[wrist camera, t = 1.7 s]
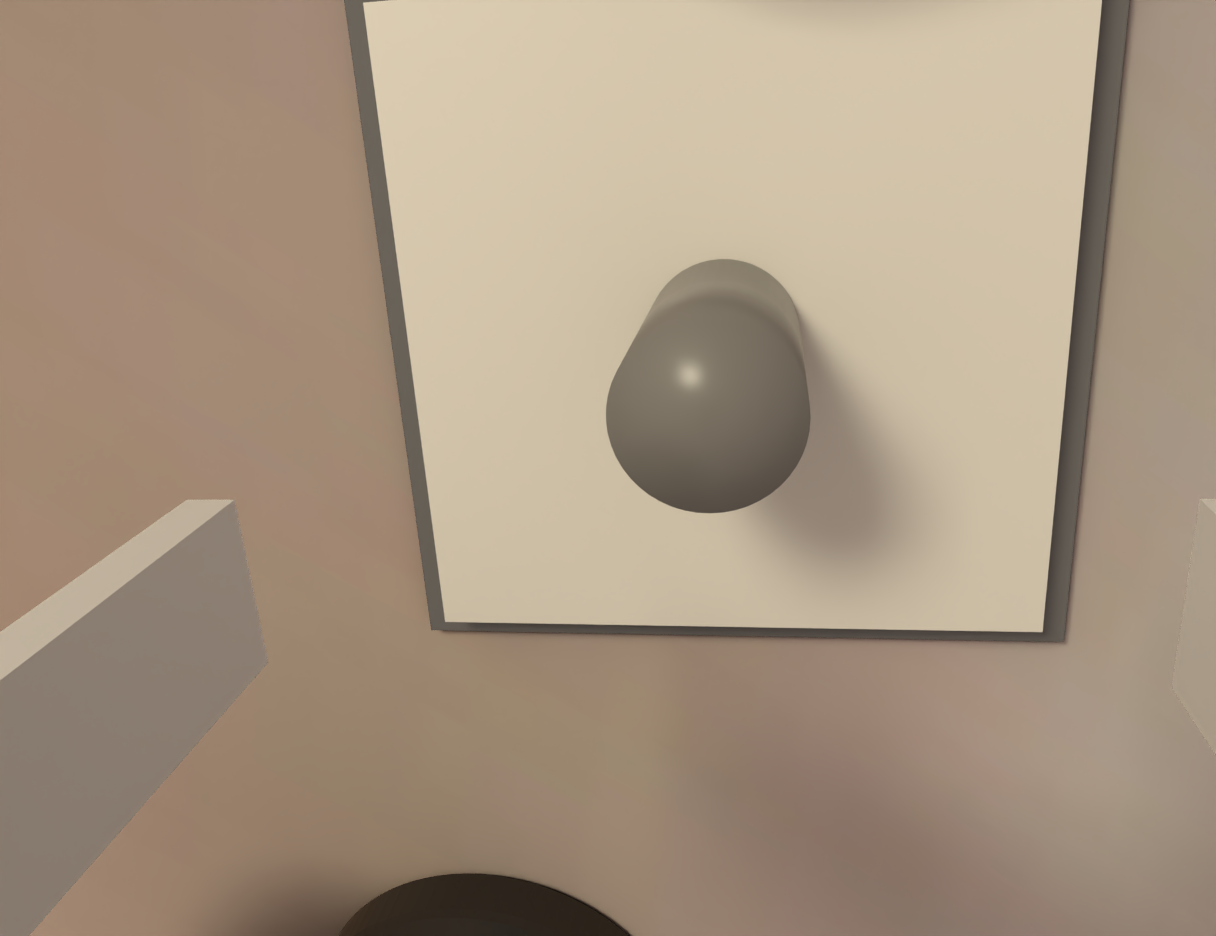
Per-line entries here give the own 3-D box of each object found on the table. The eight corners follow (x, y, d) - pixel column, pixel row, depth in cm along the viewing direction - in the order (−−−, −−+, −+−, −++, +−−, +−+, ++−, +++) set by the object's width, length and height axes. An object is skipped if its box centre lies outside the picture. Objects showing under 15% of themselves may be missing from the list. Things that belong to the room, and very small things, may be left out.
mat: (1059, 633, 33) (1063, 641, 32) (435, 623, 36) (431, 630, 36) (1133, -100, 26) (1140, -104, 25) (346, -29, 29) (340, -30, 28)
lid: (1033, 613, 32) (1128, 803, 24) (455, 605, 35) (354, 770, 27) (1093, -55, 26) (1254, -128, 17) (378, 6, 29) (212, -30, 20)
